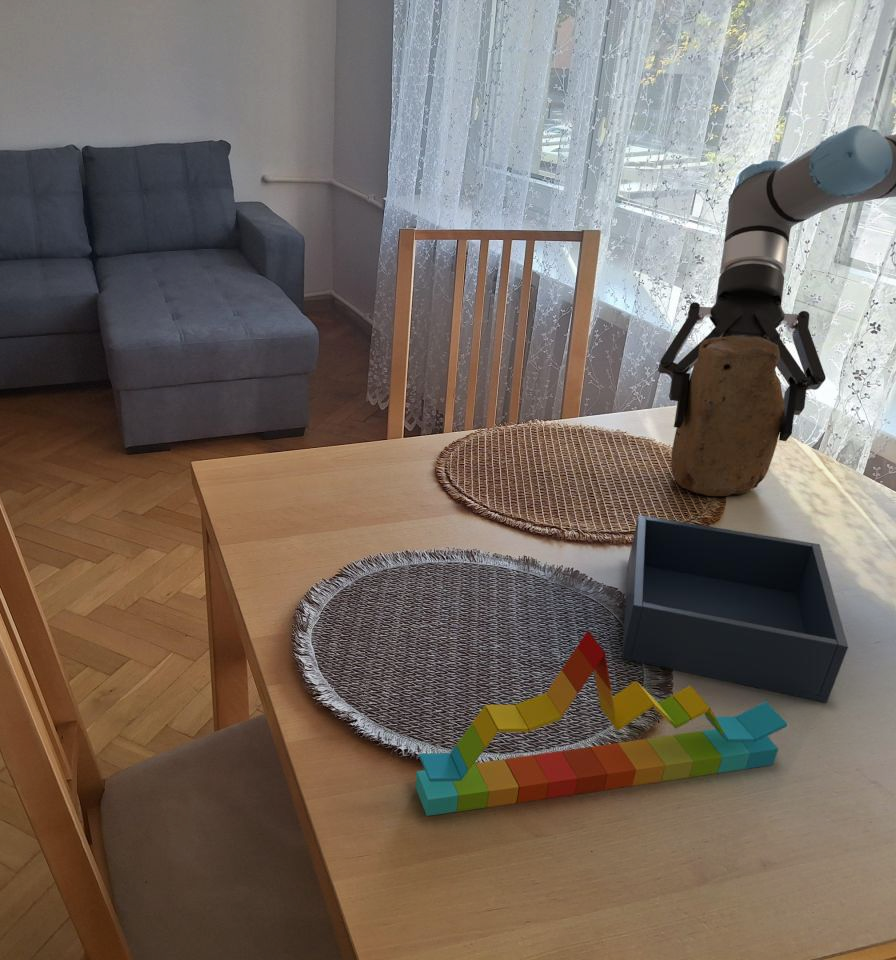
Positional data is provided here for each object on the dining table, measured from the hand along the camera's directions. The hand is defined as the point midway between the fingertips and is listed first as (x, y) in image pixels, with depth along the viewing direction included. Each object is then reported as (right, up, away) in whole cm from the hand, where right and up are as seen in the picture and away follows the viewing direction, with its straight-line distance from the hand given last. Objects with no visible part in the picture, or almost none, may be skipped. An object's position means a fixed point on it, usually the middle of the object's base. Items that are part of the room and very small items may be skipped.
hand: (730, 430), depth 107 cm
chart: (-31, -31, -35) cm, 56 cm away
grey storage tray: (-12, -21, -19) cm, 31 cm away
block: (+1, -7, +7) cm, 10 cm away
